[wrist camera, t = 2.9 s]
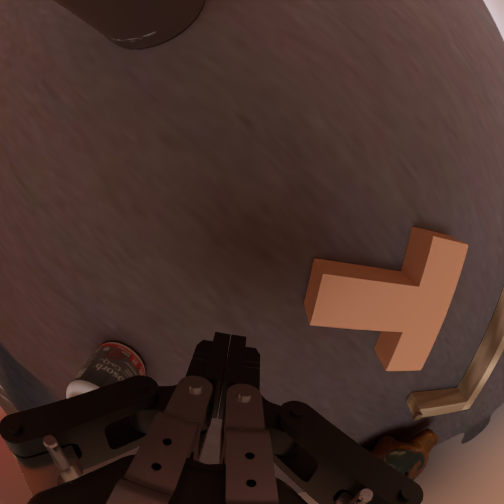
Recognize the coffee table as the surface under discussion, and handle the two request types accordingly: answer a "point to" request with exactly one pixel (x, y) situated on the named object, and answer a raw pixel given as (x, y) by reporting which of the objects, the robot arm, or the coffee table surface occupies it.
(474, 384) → the maple L-fence
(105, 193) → the coffee table surface
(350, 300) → the T-block
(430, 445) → the decorative turtle
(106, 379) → the pill bottle
